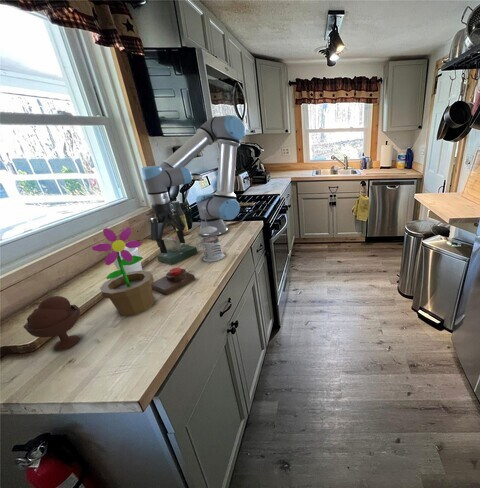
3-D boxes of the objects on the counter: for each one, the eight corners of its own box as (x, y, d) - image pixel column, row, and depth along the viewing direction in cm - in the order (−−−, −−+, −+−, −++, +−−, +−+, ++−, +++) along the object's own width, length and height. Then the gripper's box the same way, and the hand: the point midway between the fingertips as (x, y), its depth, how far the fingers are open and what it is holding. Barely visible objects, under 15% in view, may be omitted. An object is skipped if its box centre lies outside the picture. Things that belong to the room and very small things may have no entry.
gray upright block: (167, 252, 124) (163, 238, 121) (170, 250, 126) (166, 236, 123) (179, 253, 122) (175, 238, 119) (182, 251, 124) (178, 237, 121)
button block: (179, 274, 110) (177, 266, 108) (195, 279, 105) (193, 270, 104) (151, 288, 100) (148, 279, 98) (167, 294, 96) (164, 285, 94)
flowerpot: (124, 325, 81) (86, 236, 69) (103, 312, 87) (64, 228, 75) (169, 300, 92) (142, 220, 80) (146, 290, 99) (119, 215, 87)
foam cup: (152, 275, 109) (143, 247, 104) (131, 286, 101) (120, 257, 96) (136, 272, 112) (126, 245, 107) (115, 283, 104) (103, 254, 99)
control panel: (184, 249, 134) (182, 243, 133) (198, 252, 129) (196, 247, 128) (157, 260, 123) (155, 254, 121) (171, 264, 118) (169, 258, 117)
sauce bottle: (184, 236, 151) (175, 203, 143) (175, 236, 152) (165, 203, 144) (191, 232, 157) (183, 200, 149) (182, 232, 158) (174, 200, 150)
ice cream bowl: (62, 331, 79) (39, 290, 73) (100, 328, 80) (81, 287, 74) (29, 359, 69) (-1, 314, 63) (73, 356, 70) (47, 311, 64)
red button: (177, 270, 105) (176, 266, 105) (184, 272, 103) (182, 268, 103) (168, 274, 102) (167, 271, 101) (174, 277, 100) (173, 273, 100)
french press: (229, 254, 126) (219, 204, 116) (210, 265, 117) (197, 211, 107) (214, 251, 130) (203, 202, 120) (195, 261, 120) (181, 209, 110)
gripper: (145, 210, 103) (161, 259, 112) (186, 196, 124) (196, 238, 133) (130, 209, 105) (146, 257, 114) (173, 196, 125) (184, 238, 134)
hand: (173, 247), depth 123 cm, fingers open, 11 cm apart
